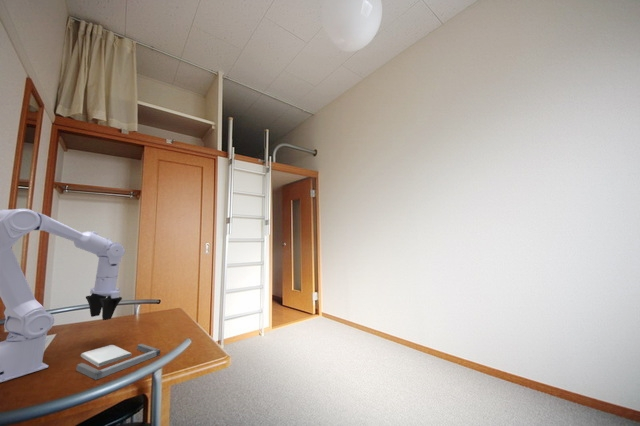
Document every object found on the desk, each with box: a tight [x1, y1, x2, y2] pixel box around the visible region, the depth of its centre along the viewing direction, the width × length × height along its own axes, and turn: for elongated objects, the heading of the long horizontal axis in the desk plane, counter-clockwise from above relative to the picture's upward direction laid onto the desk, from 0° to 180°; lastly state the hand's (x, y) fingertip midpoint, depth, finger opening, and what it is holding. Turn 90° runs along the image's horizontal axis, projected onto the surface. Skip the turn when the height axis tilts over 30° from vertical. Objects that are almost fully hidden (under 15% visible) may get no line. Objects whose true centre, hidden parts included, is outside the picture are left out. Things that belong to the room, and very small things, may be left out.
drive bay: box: [76, 343, 161, 381], centre depth 72 cm, size 16×10×2 cm, turn 155°
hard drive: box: [80, 344, 133, 368], centre depth 76 cm, size 2×8×12 cm
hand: (100, 317), depth 83 cm, fingers open, 7 cm apart
